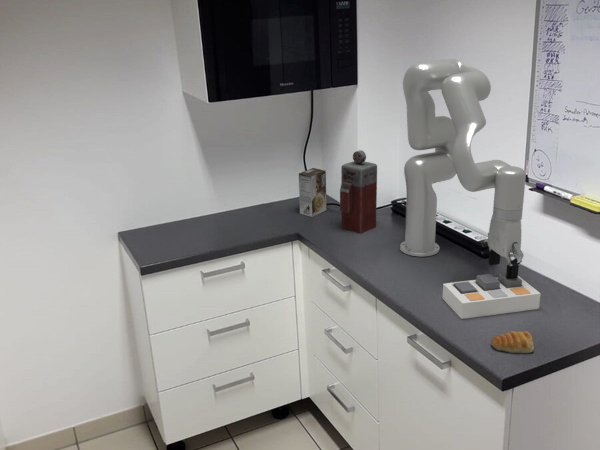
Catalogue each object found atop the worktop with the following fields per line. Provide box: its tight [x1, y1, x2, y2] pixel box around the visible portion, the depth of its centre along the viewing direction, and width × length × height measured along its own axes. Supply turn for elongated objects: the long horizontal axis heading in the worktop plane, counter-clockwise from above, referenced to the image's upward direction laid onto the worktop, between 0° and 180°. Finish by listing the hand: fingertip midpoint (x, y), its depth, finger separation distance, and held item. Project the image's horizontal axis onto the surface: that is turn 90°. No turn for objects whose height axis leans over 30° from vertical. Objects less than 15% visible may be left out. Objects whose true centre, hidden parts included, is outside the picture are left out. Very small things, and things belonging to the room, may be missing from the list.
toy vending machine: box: [339, 149, 378, 235], centre depth 225 cm, size 9×11×28 cm
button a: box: [454, 280, 477, 294], centre depth 174 cm, size 5×4×4 cm
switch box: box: [442, 275, 542, 320], centre depth 174 cm, size 12×22×5 cm, turn 102°
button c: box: [497, 273, 522, 288], centre depth 176 cm, size 5×4×4 cm
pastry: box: [490, 330, 535, 354], centre depth 153 cm, size 9×7×4 cm
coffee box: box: [298, 167, 327, 218], centre depth 244 cm, size 9×6×16 cm
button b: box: [475, 273, 500, 291], centre depth 175 cm, size 5×4×4 cm
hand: (502, 271), depth 179 cm, fingers open, 9 cm apart
